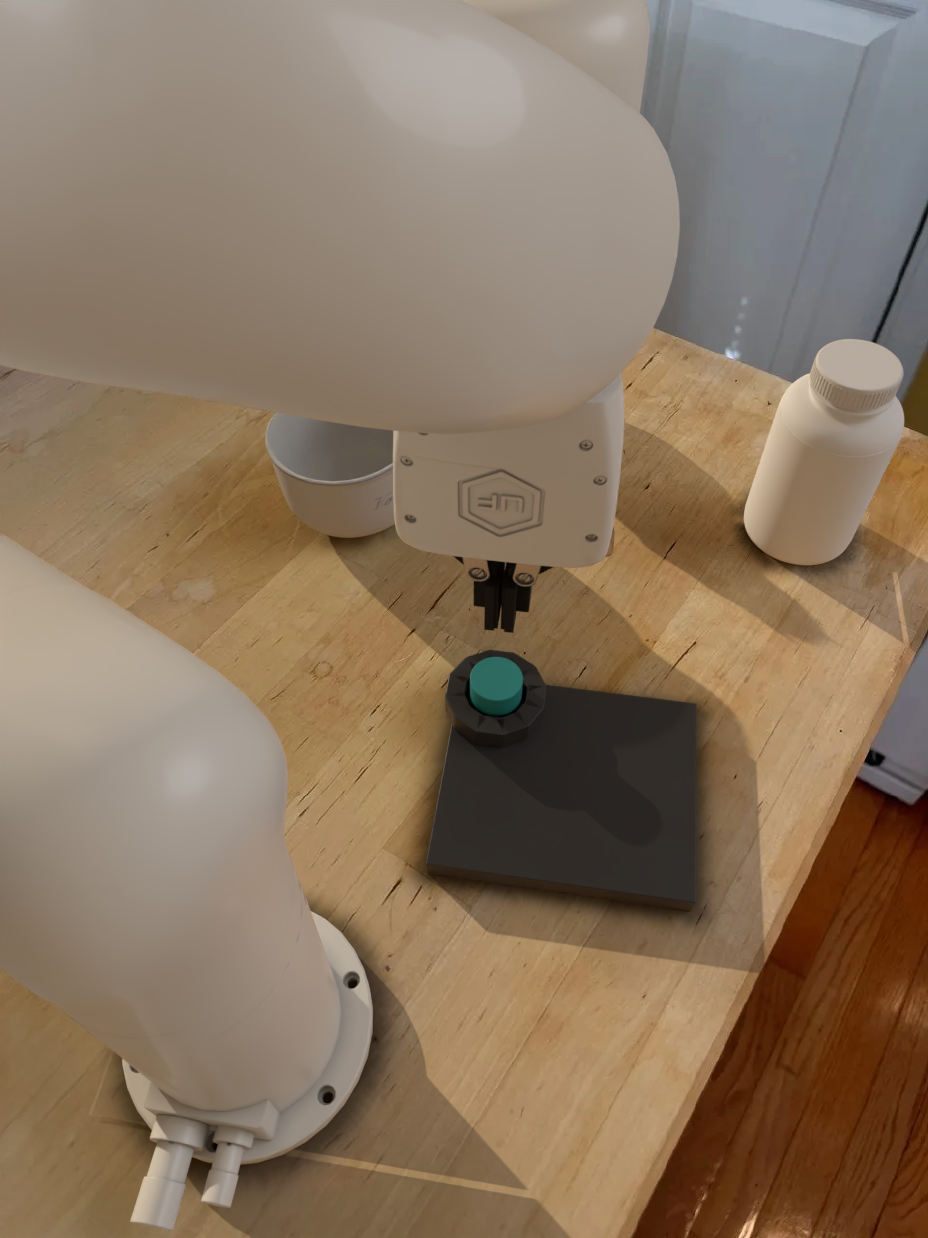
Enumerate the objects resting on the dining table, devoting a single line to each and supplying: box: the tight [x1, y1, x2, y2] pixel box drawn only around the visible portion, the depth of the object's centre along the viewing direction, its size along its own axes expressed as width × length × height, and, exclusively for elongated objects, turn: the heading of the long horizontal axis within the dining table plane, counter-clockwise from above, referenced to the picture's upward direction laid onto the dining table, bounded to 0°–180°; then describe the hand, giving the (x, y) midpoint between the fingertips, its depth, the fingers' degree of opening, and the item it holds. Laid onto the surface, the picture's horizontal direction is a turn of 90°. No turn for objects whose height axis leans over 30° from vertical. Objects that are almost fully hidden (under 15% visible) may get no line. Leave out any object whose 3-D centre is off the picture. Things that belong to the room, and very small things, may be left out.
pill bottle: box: [743, 338, 905, 566], centre depth 64 cm, size 8×8×15 cm
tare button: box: [470, 657, 523, 716], centre depth 57 cm, size 3×3×2 cm
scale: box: [425, 649, 697, 912], centre depth 56 cm, size 14×16×3 cm
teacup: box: [264, 412, 402, 539], centre depth 69 cm, size 14×11×8 cm
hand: (502, 610), depth 52 cm, fingers closed
